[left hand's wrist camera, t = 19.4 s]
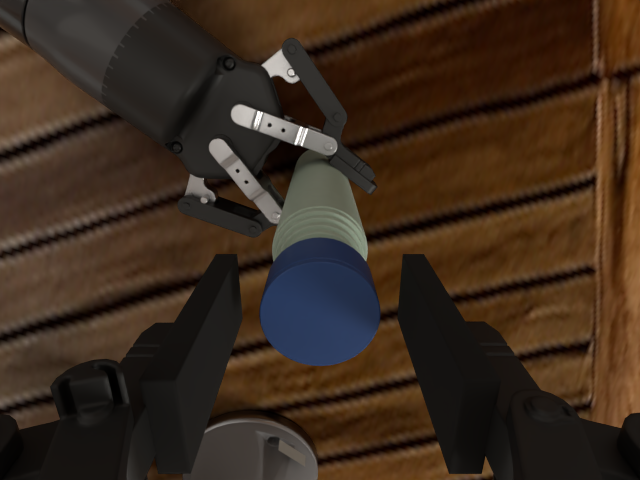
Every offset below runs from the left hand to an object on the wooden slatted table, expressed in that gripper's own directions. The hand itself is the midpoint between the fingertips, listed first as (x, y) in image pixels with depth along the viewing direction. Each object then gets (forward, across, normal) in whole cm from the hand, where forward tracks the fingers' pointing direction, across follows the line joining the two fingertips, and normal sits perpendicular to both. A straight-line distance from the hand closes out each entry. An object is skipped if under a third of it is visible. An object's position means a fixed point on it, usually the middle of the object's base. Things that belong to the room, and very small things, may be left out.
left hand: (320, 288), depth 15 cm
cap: (-2, 0, 0) cm, 2 cm away
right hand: (+14, -2, +2) cm, 14 cm away
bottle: (+21, 0, 0) cm, 21 cm away
